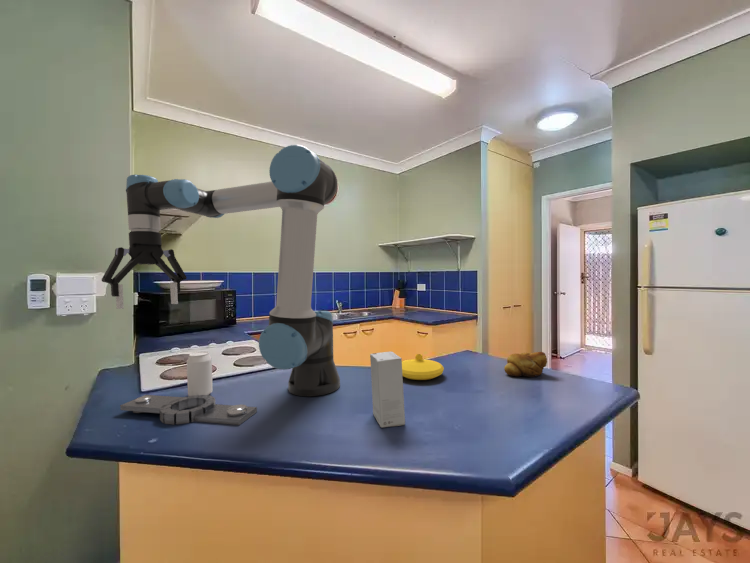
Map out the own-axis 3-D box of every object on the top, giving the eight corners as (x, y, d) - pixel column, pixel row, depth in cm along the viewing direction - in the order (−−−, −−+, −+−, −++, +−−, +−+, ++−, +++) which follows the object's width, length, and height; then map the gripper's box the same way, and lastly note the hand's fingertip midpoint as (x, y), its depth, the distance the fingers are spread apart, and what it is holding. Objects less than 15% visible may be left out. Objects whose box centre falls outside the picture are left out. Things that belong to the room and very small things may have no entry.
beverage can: (197, 391, 95) (196, 350, 95) (217, 391, 94) (215, 350, 94) (182, 399, 89) (181, 356, 89) (203, 399, 88) (202, 356, 88)
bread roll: (510, 380, 99) (510, 354, 99) (496, 370, 109) (496, 347, 109) (550, 378, 100) (550, 352, 100) (533, 369, 110) (533, 345, 110)
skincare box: (405, 425, 71) (404, 358, 71) (379, 429, 70) (377, 360, 69) (394, 410, 79) (393, 349, 79) (370, 412, 78) (369, 351, 77)
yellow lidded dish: (384, 376, 105) (384, 355, 105) (416, 366, 116) (416, 347, 116) (422, 388, 94) (422, 364, 93) (453, 376, 104) (453, 354, 104)
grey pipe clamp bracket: (262, 408, 82) (261, 396, 82) (233, 430, 71) (232, 416, 71) (153, 400, 89) (153, 389, 89) (111, 419, 77) (110, 406, 77)
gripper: (184, 236, 104) (187, 301, 105) (83, 229, 84) (88, 310, 84) (196, 234, 100) (199, 302, 100) (93, 225, 79) (98, 311, 80)
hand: (149, 306), depth 92 cm, fingers open, 13 cm apart
